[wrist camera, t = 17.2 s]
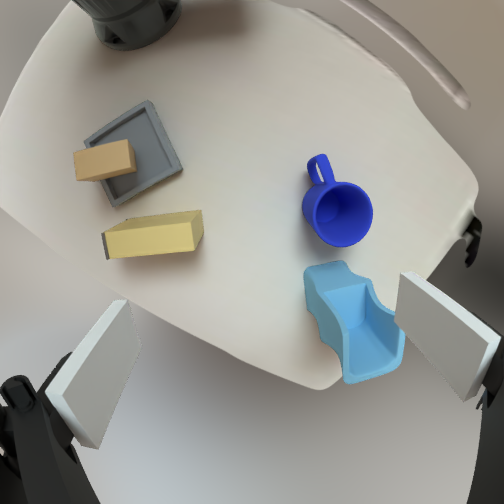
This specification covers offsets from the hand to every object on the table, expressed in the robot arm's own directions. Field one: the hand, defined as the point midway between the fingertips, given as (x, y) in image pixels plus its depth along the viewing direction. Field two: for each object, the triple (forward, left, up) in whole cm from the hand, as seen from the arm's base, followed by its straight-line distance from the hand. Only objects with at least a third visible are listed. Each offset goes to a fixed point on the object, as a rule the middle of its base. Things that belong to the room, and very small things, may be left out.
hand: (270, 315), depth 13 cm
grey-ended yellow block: (-4, -12, -32) cm, 34 cm away
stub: (-16, -15, -30) cm, 37 cm away
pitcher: (+17, +7, -32) cm, 37 cm away
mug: (+2, +11, -32) cm, 34 cm away
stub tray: (-16, -12, -32) cm, 37 cm away
